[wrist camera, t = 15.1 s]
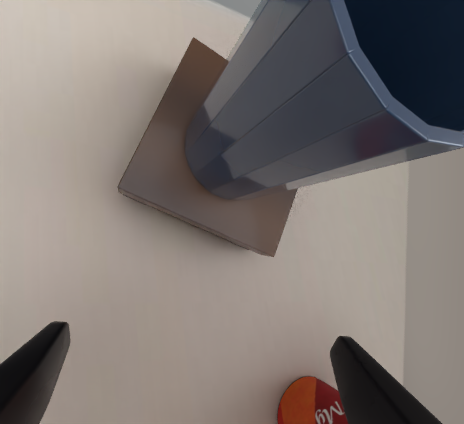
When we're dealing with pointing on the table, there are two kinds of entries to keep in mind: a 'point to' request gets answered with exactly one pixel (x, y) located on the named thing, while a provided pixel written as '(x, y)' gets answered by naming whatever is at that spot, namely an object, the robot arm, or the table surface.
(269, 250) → the stand
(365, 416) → the robot arm
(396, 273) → the table surface
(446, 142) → the tumbler
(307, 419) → the paper cup
